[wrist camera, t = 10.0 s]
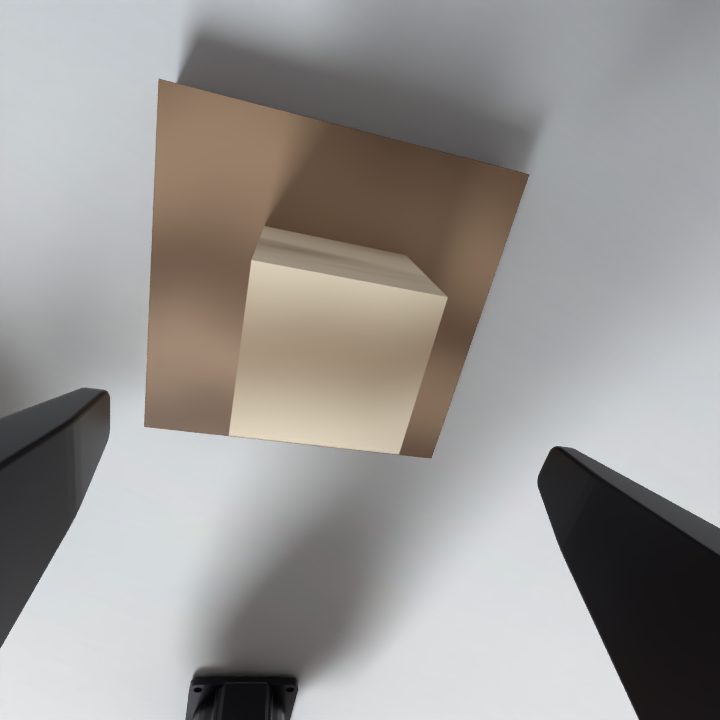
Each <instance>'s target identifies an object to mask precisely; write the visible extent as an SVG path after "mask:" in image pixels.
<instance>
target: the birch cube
mask: <svg viewBox="0 0 720 720" xmlns="http://www.w3.org/2000/svg"><path fill="white" fill-rule="evenodd" d="M447 298H448V297H447V296H446V295H445V294H444V293H443V292H442V291H441V290H440V289H439V288H438V287H437V286H436V285H435V284H434V283H433V282H432V281H431V280H430V279H429V278H428V277H427V276H426V275H425V274H424V273H423V272H422V271H421V270H420V269H419V268H418V267H417V266H416V265H415V264H414V263H413V262H412V261H411V260H410V259H409V258H408V257H407V256H406V255H403V254H398V253H393V252H388V251H383V250H378V249H374V248H369V247H364V246H359V245H354V244H349V243H344V242H340V241H335V240H330V239H325V238H320V237H315V236H310V235H306V234H301V233H296V232H291V231H286V230H281V229H276V228H271V227H267V226H264V228H263V231H262V233H261V236H260V239H259V241H258V244H257V247H256V249H255V252H254V255H253V257H252V260H251V267H250V275H249V283H248V290H247V298H246V306H245V313H244V321H243V329H242V337H241V344H240V352H239V360H238V367H237V375H236V383H235V391H234V398H233V406H232V414H231V422H230V429H229V436H237V437H246V438H255V439H264V440H273V441H282V442H291V443H300V444H309V445H318V446H327V447H336V448H345V449H354V450H363V451H372V452H381V453H390V454H399V453H400V450H401V446H402V443H403V440H404V437H405V434H406V430H407V427H408V424H409V421H410V417H411V414H412V411H413V408H414V405H415V401H416V398H417V395H418V392H419V388H420V385H421V382H422V379H423V376H424V372H425V369H426V366H427V363H428V360H429V356H430V353H431V350H432V347H433V343H434V340H435V337H436V334H437V331H438V327H439V324H440V321H441V318H442V314H443V311H444V308H445V305H446V302H447Z"/></svg>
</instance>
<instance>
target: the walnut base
mask: <svg viewBox="0 0 720 720" xmlns="http://www.w3.org/2000/svg"><path fill="white" fill-rule="evenodd" d="M528 177H529V174H526V173H522V172H518V171H514V170H510V169H506V168H503V167H499V166H495V165H491V164H487V163H483V162H479V161H475V160H472V159H468V158H464V157H460V156H456V155H452V154H448V153H444V152H441V151H437V150H433V149H429V148H425V147H421V146H417V145H413V144H410V143H406V142H402V141H398V140H394V139H390V138H386V137H382V136H379V135H375V134H371V133H367V132H363V131H359V130H355V129H352V128H348V127H344V126H340V125H336V124H332V123H328V122H324V121H321V120H317V119H313V118H309V117H305V116H301V115H297V114H293V113H290V112H286V111H282V110H278V109H274V108H270V107H266V106H262V105H259V104H255V103H251V102H247V101H243V100H239V99H235V98H231V97H228V96H224V95H220V94H216V93H212V92H208V91H204V90H201V89H197V88H193V87H189V86H185V85H181V84H177V83H173V82H170V81H166V80H162V79H159V81H158V105H157V130H156V154H155V178H154V202H153V226H152V251H151V275H150V299H149V323H148V347H147V372H146V396H145V420H144V427H151V428H160V429H169V430H178V431H187V432H196V433H206V434H215V435H224V436H229V429H230V422H231V414H232V406H233V398H234V391H235V383H236V375H237V367H238V360H239V352H240V344H241V337H242V329H243V321H244V313H245V306H246V298H247V290H248V283H249V275H250V267H251V260H252V257H253V255H254V252H255V249H256V247H257V244H258V241H259V239H260V236H261V233H262V231H263V228H264V226H267V227H271V228H276V229H281V230H286V231H291V232H296V233H301V234H306V235H310V236H315V237H320V238H325V239H330V240H335V241H340V242H344V243H349V244H354V245H359V246H364V247H369V248H374V249H378V250H383V251H388V252H393V253H398V254H403V255H406V256H407V257H408V258H409V259H410V260H411V261H412V262H413V263H414V264H415V265H416V266H417V267H418V268H419V269H420V270H421V271H422V272H423V273H424V274H425V275H426V276H427V277H428V278H429V279H430V280H431V281H432V282H433V283H434V284H435V285H436V286H437V287H438V288H439V289H440V290H441V291H442V292H443V293H444V294H445V295H446V296H447V297H448V298H447V302H446V305H445V308H444V311H443V314H442V318H441V321H440V324H439V327H438V331H437V334H436V337H435V340H434V343H433V347H432V350H431V353H430V356H429V360H428V363H427V366H426V369H425V372H424V376H423V379H422V382H421V385H420V388H419V392H418V395H417V398H416V401H415V405H414V408H413V411H412V414H411V417H410V421H409V424H408V427H407V430H406V434H405V437H404V440H403V443H402V446H401V450H400V453H399V454H397V455H406V456H415V457H424V458H432V455H433V452H434V449H435V446H436V443H437V440H438V437H439V435H440V432H441V429H442V426H443V423H444V420H445V417H446V414H447V411H448V409H449V406H450V403H451V400H452V397H453V394H454V391H455V388H456V385H457V382H458V380H459V377H460V374H461V371H462V368H463V365H464V362H465V359H466V356H467V353H468V351H469V348H470V345H471V342H472V339H473V336H474V333H475V330H476V327H477V324H478V322H479V319H480V316H481V313H482V310H483V307H484V304H485V301H486V298H487V296H488V293H489V290H490V287H491V284H492V281H493V278H494V275H495V272H496V269H497V267H498V264H499V261H500V258H501V255H502V252H503V249H504V246H505V243H506V240H507V238H508V235H509V232H510V229H511V226H512V223H513V220H514V217H515V214H516V212H517V209H518V206H519V203H520V200H521V197H522V194H523V191H524V188H525V185H526V183H527V180H528ZM233 437H237V436H233ZM242 438H246V437H242ZM251 439H255V438H251ZM260 440H264V439H260ZM269 441H273V440H269ZM278 442H282V441H278ZM288 443H291V442H288ZM297 444H300V443H297ZM306 445H309V444H306ZM315 446H318V445H315ZM324 447H327V446H324ZM333 448H336V447H333ZM342 449H345V448H342ZM351 450H354V449H351ZM360 451H363V450H360ZM370 452H372V451H370ZM379 453H381V452H379ZM388 454H390V453H388Z"/></svg>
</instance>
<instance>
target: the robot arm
mask: <svg viewBox="0 0 720 720" xmlns="http://www.w3.org/2000/svg"><path fill="white" fill-rule="evenodd" d="M109 432H110V396H109V393H108V392H107V391H105V390H101V389H92V388H80V389H78V390H75V391H72V392H70V393H67V394H64V395H62V396H59V397H56V398H54V399H51V400H48V401H46V402H43V403H40V404H38V405H35V406H32V407H30V408H27V409H24V410H22V411H19V412H16V413H14V414H11V415H8V416H6V417H3V418H0V648H1V646H2V645H3V643H4V641H5V639H6V638H7V636H8V634H9V632H10V631H11V629H12V627H13V625H14V624H15V622H16V620H17V618H18V617H19V615H20V613H21V612H22V610H23V608H24V606H25V605H26V603H27V601H28V599H29V598H30V596H31V594H32V592H33V591H34V589H35V587H36V585H37V584H38V582H39V580H40V578H41V577H42V575H43V573H44V571H45V570H46V568H47V566H48V564H49V563H50V561H51V559H52V557H53V556H54V554H55V552H56V550H57V549H58V547H59V545H60V543H61V542H62V540H63V538H64V537H65V535H66V533H67V531H68V530H69V528H70V526H71V524H72V522H73V520H74V518H75V517H76V515H77V512H78V510H79V508H80V506H81V504H82V501H83V499H84V496H85V494H86V492H87V489H88V487H89V485H90V482H91V480H92V477H93V475H94V473H95V470H96V468H97V465H98V463H99V461H100V458H101V456H102V454H103V451H104V449H105V446H106V444H107V441H108V438H109ZM537 483H538V488H539V491H540V494H541V497H542V500H543V503H544V505H545V508H546V511H547V514H548V517H549V519H550V522H551V525H552V528H553V531H554V534H555V536H556V539H557V542H558V545H559V547H560V550H561V552H562V554H563V557H564V559H565V561H566V563H567V566H568V568H569V570H570V572H571V574H572V576H573V578H574V581H575V583H576V585H577V587H578V589H579V591H580V594H581V596H582V598H583V600H584V602H585V604H586V607H587V609H588V611H589V613H590V615H591V617H592V620H593V622H594V624H595V626H596V628H597V630H598V632H599V635H600V637H601V639H602V641H603V643H604V645H605V648H606V650H607V652H608V654H609V656H610V658H611V661H612V663H613V665H614V667H615V669H616V671H617V673H618V676H619V678H620V680H621V682H622V684H623V686H624V689H625V691H626V693H627V695H628V697H629V699H630V702H631V704H632V706H633V708H634V710H635V712H636V715H637V717H638V719H639V720H720V528H718V527H716V526H714V525H713V524H711V523H709V522H707V521H705V520H703V519H702V518H700V517H698V516H696V515H694V514H693V513H691V512H689V511H687V510H685V509H683V508H682V507H680V506H678V505H676V504H674V503H672V502H671V501H669V500H667V499H665V498H663V497H661V496H660V495H658V494H656V493H654V492H652V491H650V490H649V489H647V488H645V487H643V486H641V485H639V484H638V483H636V482H634V481H632V480H630V479H629V478H627V477H625V476H623V475H621V474H619V473H618V472H616V471H614V470H612V469H610V468H608V467H607V466H605V465H603V464H601V463H599V462H597V461H596V460H594V459H592V458H590V457H588V456H586V455H585V454H583V453H581V452H579V451H577V450H576V449H573V448H569V447H561V446H556V447H553V448H552V449H551V450H550V452H549V454H548V456H547V458H546V460H545V462H544V464H543V467H542V469H541V471H540V473H539V475H538V482H537ZM297 691H298V681H297V680H296V679H294V678H195V679H193V680H192V681H191V683H190V688H189V696H188V704H187V713H186V720H290V717H291V713H292V710H293V706H294V702H295V699H296V695H297Z"/></svg>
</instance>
